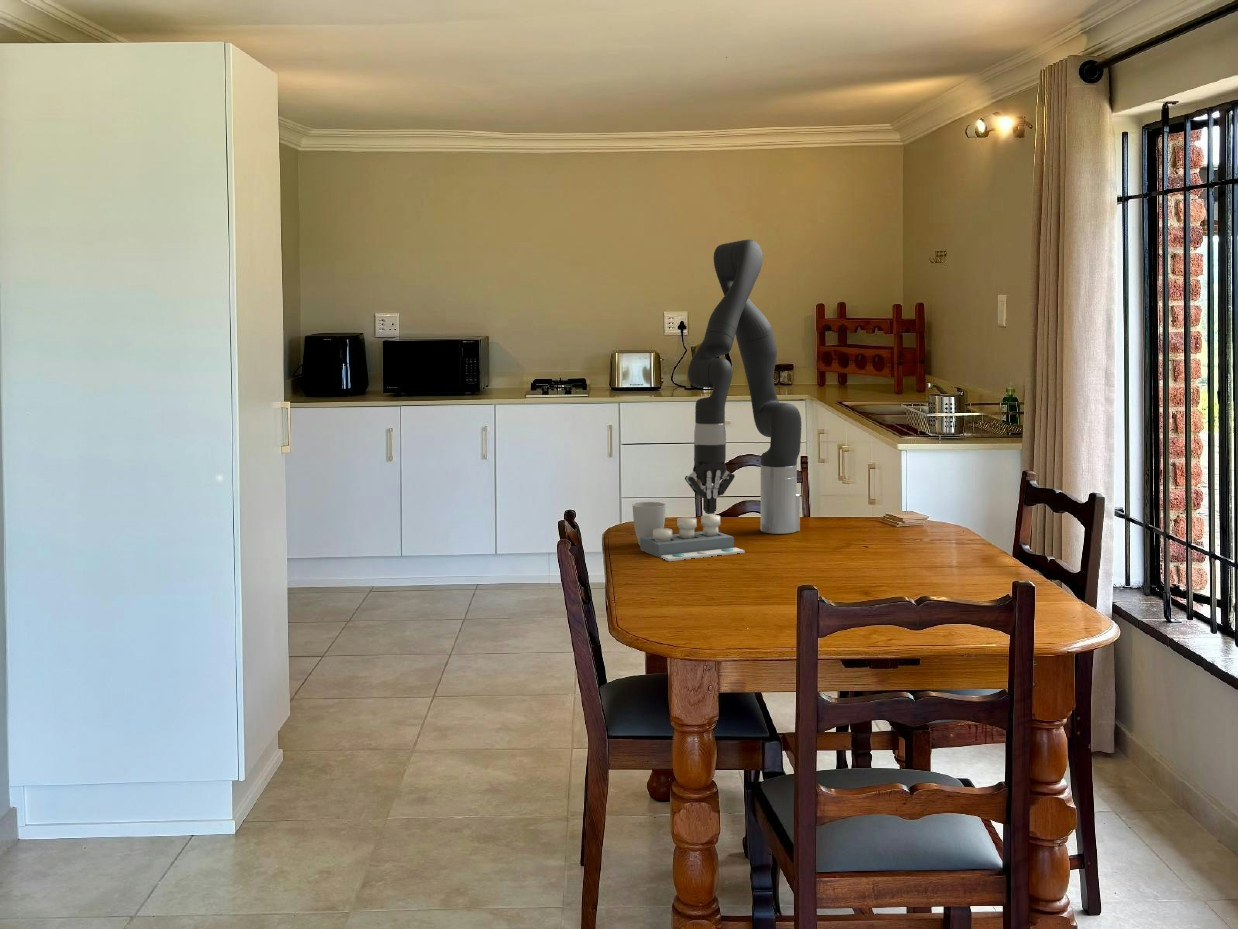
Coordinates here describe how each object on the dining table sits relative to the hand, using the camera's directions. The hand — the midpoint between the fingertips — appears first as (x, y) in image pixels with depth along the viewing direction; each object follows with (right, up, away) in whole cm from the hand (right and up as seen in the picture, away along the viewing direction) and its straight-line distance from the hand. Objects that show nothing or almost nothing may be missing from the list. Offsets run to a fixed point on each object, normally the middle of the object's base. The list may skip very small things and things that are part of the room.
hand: (709, 513), depth 283 cm
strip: (-2, -9, -9) cm, 13 cm away
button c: (-11, -8, -4) cm, 15 cm away
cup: (-14, -8, +5) cm, 17 cm away
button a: (0, -5, +1) cm, 5 cm away
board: (-6, -9, -2) cm, 10 cm away
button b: (-6, -6, -2) cm, 8 cm away
